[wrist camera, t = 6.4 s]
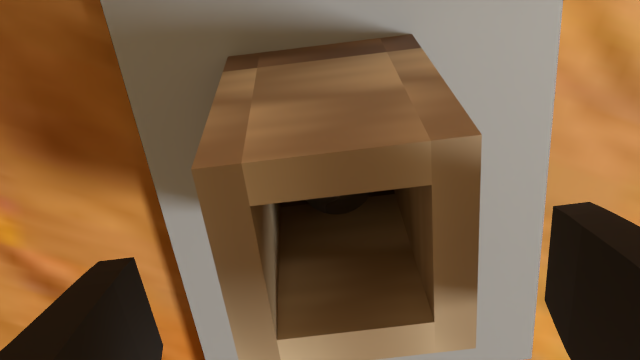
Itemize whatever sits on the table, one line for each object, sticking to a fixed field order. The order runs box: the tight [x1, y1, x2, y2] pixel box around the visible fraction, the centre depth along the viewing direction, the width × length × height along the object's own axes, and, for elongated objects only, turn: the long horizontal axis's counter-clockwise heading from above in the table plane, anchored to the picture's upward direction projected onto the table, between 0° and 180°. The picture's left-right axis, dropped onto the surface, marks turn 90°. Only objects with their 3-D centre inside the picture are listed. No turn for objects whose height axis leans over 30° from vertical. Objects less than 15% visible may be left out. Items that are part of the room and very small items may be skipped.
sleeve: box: [191, 34, 482, 360], centre depth 13 cm, size 5×5×6 cm
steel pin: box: [306, 192, 371, 215], centre depth 14 cm, size 2×2×4 cm
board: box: [100, 0, 563, 360], centre depth 16 cm, size 11×19×1 cm, turn 7°
